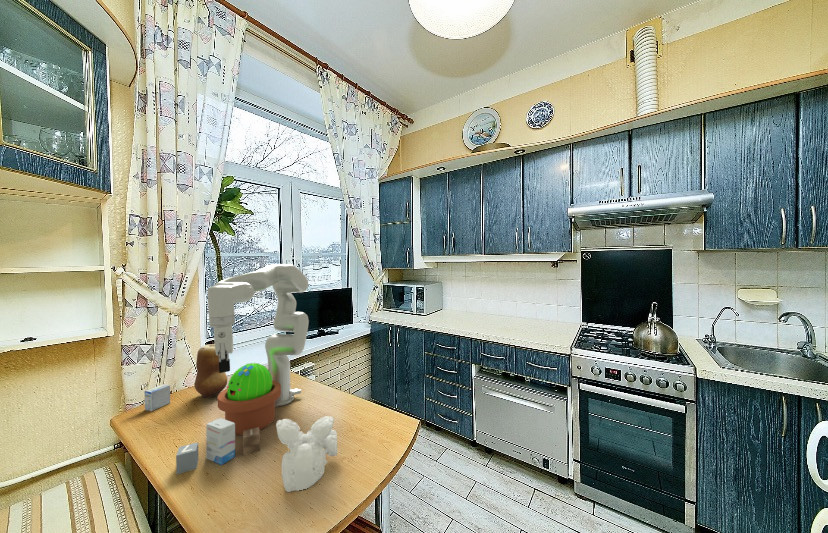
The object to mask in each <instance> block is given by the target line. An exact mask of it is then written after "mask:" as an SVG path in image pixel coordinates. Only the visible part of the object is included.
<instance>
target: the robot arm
mask: <svg viewBox="0 0 828 533" xmlns="http://www.w3.org/2000/svg"><path fill="white" fill-rule="evenodd" d="M270 287H272V289H273V291H274V293H275V295H276V297H277V307H276V310H275V317H274V320H273V321H274V322H273V329H274V330H276V331H278V332H285V333H276V334H271V335H270V336H268V337H267V338H266V340H265V343H264V344H265V345H264V347H265V348H264V349H265V353H266V357H267V369H268V371H270V374H271V377H272V376H273V377H272V380H273V381H276V382H279V383H280V385H281V395H280V397H279V398H278V399H277V400H276V401H275V408H276V407H283V406H285V405H288V404H290V403H292V402H293V400H294V399H295V395H300V394H301V393H302V389H298V388H294V389H292V388H291V361H290V359H289V356H299V355H301V354H303V352H304V350H305V346H306V342H307V336H308V329H309V323H310V320H309V316H308V314H306V313H305V312H303V311H296V309H297V300H296V298H295V297H294V295H293V293H297V294H298V293H304V292H306V291H307V290H308V288H309V280H308V278H307V276H306V275H305V274H304V273H303V272H302V271H301V270H300V269H299V268H298V267H296V266H295V265H294V264H290V263H286V264H285V263H282V264H281V263H280V264H279V263H278V264H277V263H273V264H269V265H267V266H265V267H262V268H260V269H257V270H255V271H252V272H251V271H250V272H246V273H244V274H239V275H234V276H232V277H227V278H225V279H222V280H220V281H218V282H217V283H215V284H214V285H212V286H209V287H208V289H207V301H208V302H207V306H208V320H209V321H208V325H209V327H210V328H213V339H214V340H213V341H214V342H213V343H214V344H215V352H216V355H217V356H218V354H219V373H223V372H225V373H228V372H230V371H231V359H230V358H229V357H230V354H232V353H233V352H234V337H233V335H234V333H233V326H234V324H236V321H235V320H236V318H235V317H236V316H235V304H238V303H240V304H241V303H247V302H249V301H250V300H251V299H253V297H254V295H255V293H256V292H260V291H264V290H266V289H268V288H270ZM286 332H290V333H293V334H290V333H289V334H288V333H286Z"/></svg>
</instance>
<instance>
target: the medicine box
mask: <svg viewBox="0 0 828 533" xmlns="http://www.w3.org/2000/svg"><path fill="white" fill-rule="evenodd" d="M170 403H171V385H169V384H164V383H163V384H160V385H157V386H155V387H153V388H150V389H146V390H145V391H144V410H145V411H149V412H153V411H155V410H157V409H159V408H162V407H164V406H166V405H168V404H170Z"/></svg>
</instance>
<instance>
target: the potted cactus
mask: <svg viewBox="0 0 828 533" xmlns="http://www.w3.org/2000/svg"><path fill="white" fill-rule="evenodd" d="M272 377H273V376H272ZM272 377H271V374H270V371H268V367H266V365H264V364H261V363H257V362H249V363H247V362H246V364H243V365H240V367H238V369H236V371H235V372H233V373H232V374H231V376H230V379H229V380H228V382H227V385H226V389H225V388H224V389H223V390H222V391H221V392H220V393H218V394H217V408H218V409H219V410H220V411H222V412H224V418H225V420H228V421H231V422H233V423H235V436H237V435H238V436H243V431H245V430H249V429H253V428H257V427H259V431H260V430H263V429H265V428H267V427H268V426H269V425H271V423H272V424H273V422H274V420H275V419H276V407H275V401H276V400H277V399H278V398H279V397H280V395H281V385H280V383H279V382H276V381H273V380H272Z"/></svg>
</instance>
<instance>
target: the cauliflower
mask: <svg viewBox="0 0 828 533" xmlns="http://www.w3.org/2000/svg"><path fill="white" fill-rule="evenodd" d="M334 418H335V417H333V416H328V415H326V416H322V417H319V419H318V420H317V419H316V421H315V422H314V424H312V425H311V426H310V429H309V430H307V433H304V432H303V431H302V430H301V431H300V429H301V428H300V426H299V424H298V423H297V422H296V421H294V420H292V419H290V418H283V419H278V420H277V421H276V423H275V427H276V434H277V439H279V440H280V442H281V444H282V445H286V447H287V449H288V450H289V451H285V452H284V454H283V456H282V459H281V465H280V466H281V467H280V468H281V478H282V483H283V487H284V488H283V489H285V492H287V493H291V491H292V492H300V491H299V490H302V491H304V490H303V489H306V490H308V489H309V488H311V487H312V486H314V485H315V484H316V483H317V482H318V481H320V480H321V478H322V477H323V475H324V473H325V465H327V464H328V459H327V460H326V457H327V456H326V455H328V456H329V457H335V456H337V455H338V434H337V431H336V430H335V429H333V427H334V422H335V419H334ZM307 488H308V489H307Z"/></svg>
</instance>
